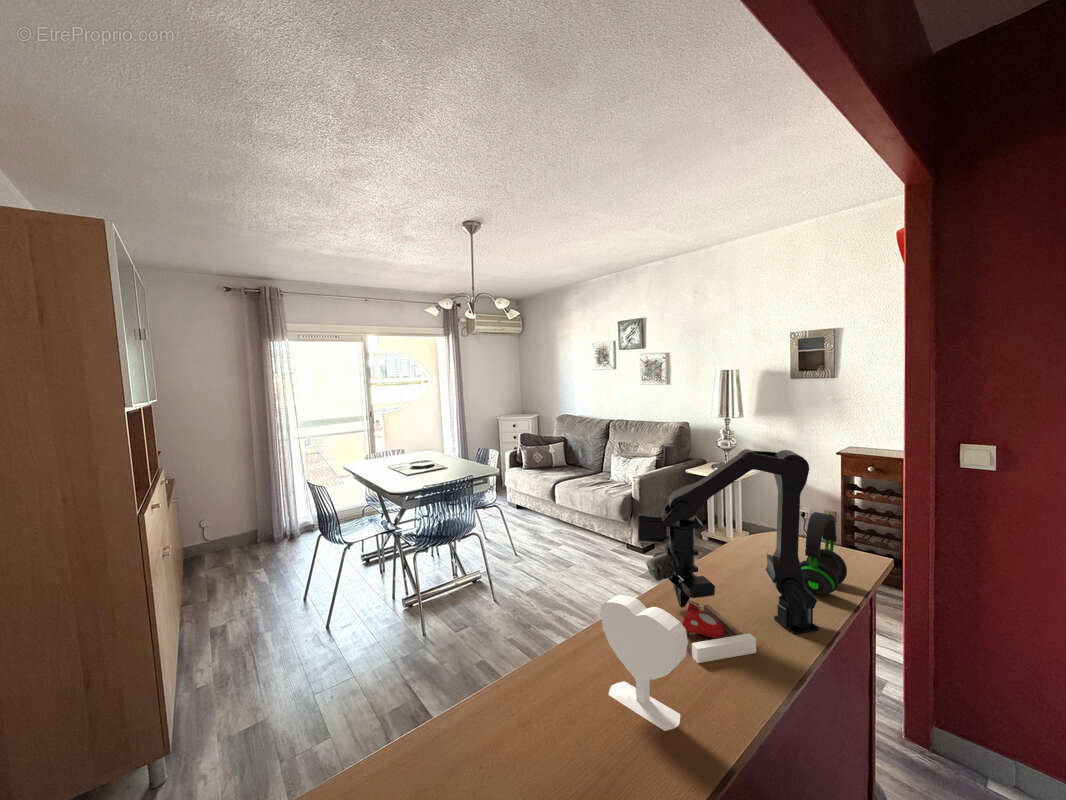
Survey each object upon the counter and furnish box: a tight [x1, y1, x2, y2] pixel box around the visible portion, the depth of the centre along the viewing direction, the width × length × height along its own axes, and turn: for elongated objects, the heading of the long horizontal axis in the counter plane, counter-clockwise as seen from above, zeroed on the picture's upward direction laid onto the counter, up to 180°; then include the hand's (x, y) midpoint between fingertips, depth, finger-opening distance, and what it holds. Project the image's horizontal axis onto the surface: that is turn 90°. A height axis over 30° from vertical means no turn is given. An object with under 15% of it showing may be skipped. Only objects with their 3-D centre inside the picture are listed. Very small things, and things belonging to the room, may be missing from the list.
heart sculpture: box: [600, 594, 689, 732], centre depth 78 cm, size 16×5×18 cm, turn 43°
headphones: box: [800, 511, 848, 596], centre depth 116 cm, size 9×16×20 cm, turn 131°
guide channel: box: [686, 603, 757, 664], centre depth 99 cm, size 13×17×3 cm
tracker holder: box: [681, 599, 725, 639], centre depth 102 cm, size 12×4×10 cm
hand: (682, 606), depth 107 cm, fingers closed
